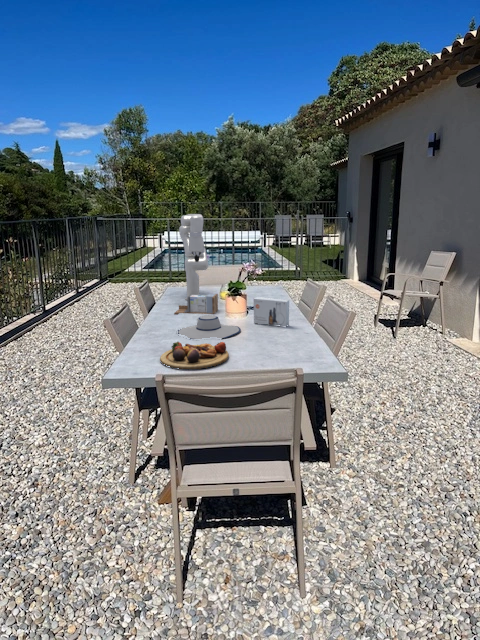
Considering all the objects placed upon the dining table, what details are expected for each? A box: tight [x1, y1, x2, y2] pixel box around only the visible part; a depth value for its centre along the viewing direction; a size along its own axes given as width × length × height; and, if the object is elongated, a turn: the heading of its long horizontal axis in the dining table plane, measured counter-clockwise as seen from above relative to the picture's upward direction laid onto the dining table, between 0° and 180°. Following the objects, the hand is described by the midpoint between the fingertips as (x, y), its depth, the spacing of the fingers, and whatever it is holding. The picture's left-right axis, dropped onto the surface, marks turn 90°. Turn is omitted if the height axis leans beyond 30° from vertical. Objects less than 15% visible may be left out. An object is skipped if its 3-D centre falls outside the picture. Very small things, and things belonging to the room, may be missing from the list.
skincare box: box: [253, 296, 290, 326], centre depth 266 cm, size 21×5×16 cm, turn 64°
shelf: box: [173, 293, 219, 315], centre depth 298 cm, size 12×27×12 cm, turn 81°
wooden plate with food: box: [159, 341, 230, 370], centre depth 209 cm, size 32×32×8 cm
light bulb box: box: [190, 294, 208, 313], centre depth 297 cm, size 11×7×11 cm, turn 82°
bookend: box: [184, 295, 191, 312], centre depth 298 cm, size 9×4×10 cm, turn 171°
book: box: [206, 293, 216, 313], centre depth 296 cm, size 9×5×11 cm, turn 171°
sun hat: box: [177, 314, 242, 340], centre depth 254 cm, size 36×36×9 cm
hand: (196, 261), depth 310 cm, fingers closed
